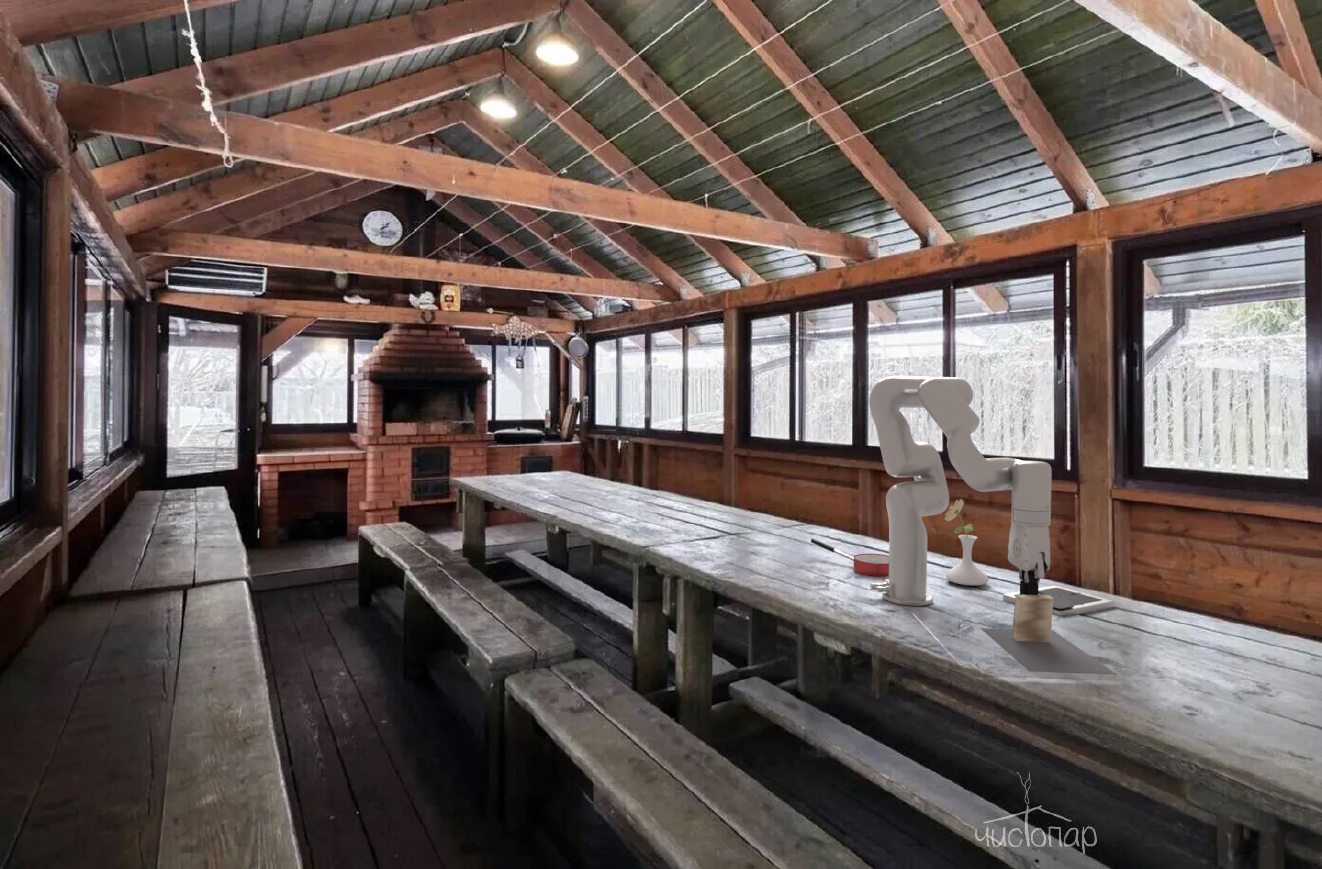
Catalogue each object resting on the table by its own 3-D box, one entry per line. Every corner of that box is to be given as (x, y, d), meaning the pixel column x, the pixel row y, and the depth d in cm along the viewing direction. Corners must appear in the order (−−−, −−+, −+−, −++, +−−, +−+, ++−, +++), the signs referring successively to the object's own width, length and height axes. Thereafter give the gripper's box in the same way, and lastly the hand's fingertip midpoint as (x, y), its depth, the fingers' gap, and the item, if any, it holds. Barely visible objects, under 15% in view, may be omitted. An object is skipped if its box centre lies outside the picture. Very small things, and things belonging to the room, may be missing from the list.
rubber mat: (1029, 673, 126) (1029, 670, 126) (980, 630, 150) (980, 627, 150) (1116, 676, 124) (1116, 673, 124) (1052, 632, 148) (1052, 630, 148)
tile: (1016, 641, 141) (1019, 598, 140) (1011, 636, 143) (1015, 594, 142) (1049, 642, 141) (1053, 598, 139) (1045, 637, 143) (1049, 595, 141)
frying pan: (795, 560, 217) (796, 541, 216) (818, 554, 225) (818, 536, 225) (883, 580, 193) (884, 559, 192) (905, 572, 201) (905, 552, 201)
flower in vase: (967, 576, 196) (969, 494, 195) (997, 586, 185) (999, 500, 184) (932, 580, 192) (933, 496, 191) (961, 591, 181) (963, 502, 180)
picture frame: (1060, 619, 158) (1113, 608, 167) (1060, 608, 158) (1113, 598, 167) (1003, 601, 173) (1054, 592, 181) (1003, 591, 173) (1055, 582, 181)
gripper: (998, 511, 150) (996, 589, 151) (1029, 523, 135) (1027, 609, 136) (1031, 511, 149) (1030, 590, 150) (1066, 523, 135) (1064, 610, 135)
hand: (1028, 599), depth 143 cm, fingers closed
